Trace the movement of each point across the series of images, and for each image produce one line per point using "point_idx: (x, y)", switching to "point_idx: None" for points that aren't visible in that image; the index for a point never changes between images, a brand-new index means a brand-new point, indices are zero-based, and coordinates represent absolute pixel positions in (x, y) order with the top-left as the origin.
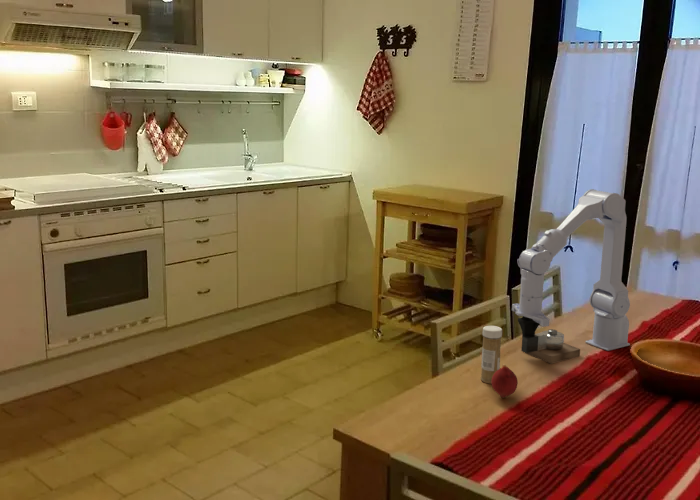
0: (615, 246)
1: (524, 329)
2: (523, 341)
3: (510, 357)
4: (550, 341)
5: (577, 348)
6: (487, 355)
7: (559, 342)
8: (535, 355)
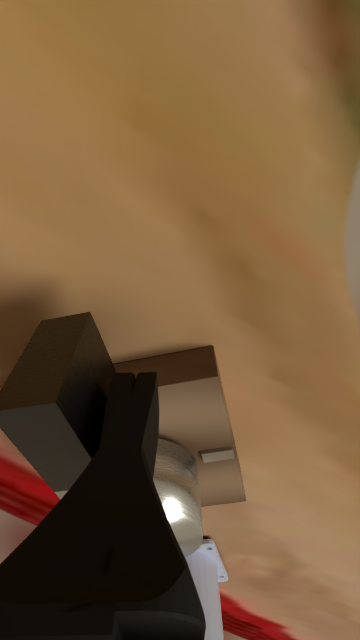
0: None
1: (72, 489)
2: (48, 371)
3: (150, 234)
4: None
5: None
6: None
7: None
8: (117, 370)
